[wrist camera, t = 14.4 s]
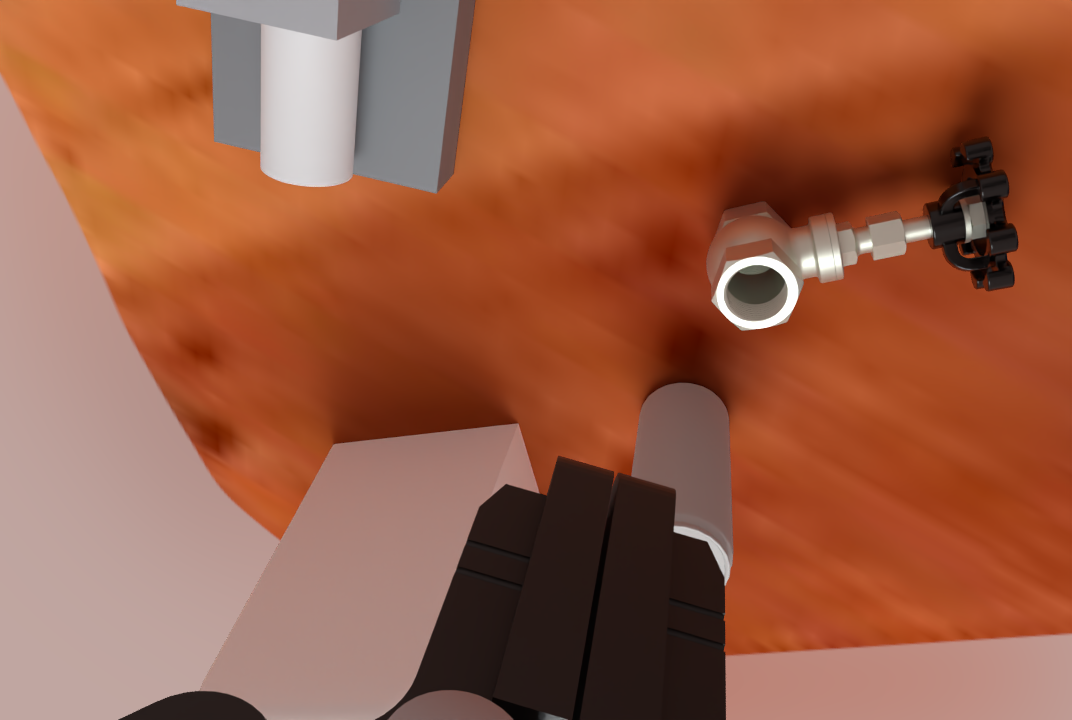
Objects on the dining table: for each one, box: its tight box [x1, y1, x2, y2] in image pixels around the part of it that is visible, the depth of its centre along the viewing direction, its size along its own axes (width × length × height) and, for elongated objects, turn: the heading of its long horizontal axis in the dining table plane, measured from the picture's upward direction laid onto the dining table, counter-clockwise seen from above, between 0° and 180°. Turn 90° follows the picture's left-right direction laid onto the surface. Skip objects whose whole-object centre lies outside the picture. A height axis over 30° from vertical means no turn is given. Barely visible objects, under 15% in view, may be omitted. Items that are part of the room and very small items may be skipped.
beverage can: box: [632, 383, 733, 585], centre depth 41 cm, size 5×5×12 cm
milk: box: [200, 423, 540, 720], centre depth 42 cm, size 12×12×26 cm
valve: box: [706, 137, 1018, 330], centre depth 37 cm, size 7×7×12 cm
